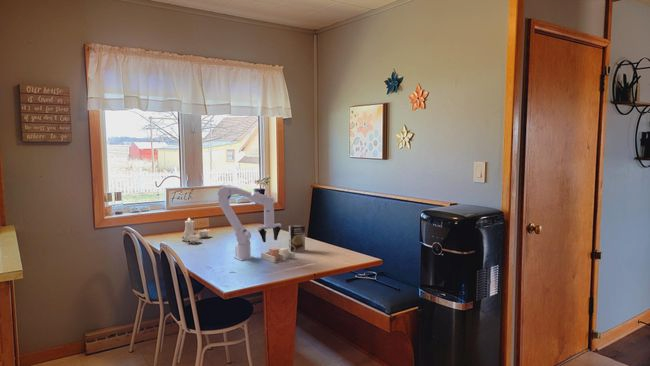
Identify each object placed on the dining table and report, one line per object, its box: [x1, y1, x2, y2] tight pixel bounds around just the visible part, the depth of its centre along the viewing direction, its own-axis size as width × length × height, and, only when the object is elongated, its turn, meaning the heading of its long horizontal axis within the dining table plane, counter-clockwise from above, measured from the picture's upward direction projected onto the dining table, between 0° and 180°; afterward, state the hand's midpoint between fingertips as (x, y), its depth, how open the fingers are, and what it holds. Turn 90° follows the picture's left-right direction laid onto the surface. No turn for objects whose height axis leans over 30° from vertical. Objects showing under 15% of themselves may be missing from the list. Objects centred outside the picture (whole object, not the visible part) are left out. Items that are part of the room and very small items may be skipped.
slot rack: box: [260, 250, 297, 264], centre depth 250 cm, size 16×15×4 cm
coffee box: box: [288, 224, 306, 253], centre depth 268 cm, size 9×6×16 cm
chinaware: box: [181, 217, 211, 244], centre depth 302 cm, size 28×17×17 cm, turn 179°
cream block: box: [278, 247, 289, 258], centre depth 252 cm, size 4×4×5 cm
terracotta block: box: [268, 247, 280, 260], centre depth 248 cm, size 4×4×6 cm
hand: (269, 240), depth 251 cm, fingers open, 7 cm apart
